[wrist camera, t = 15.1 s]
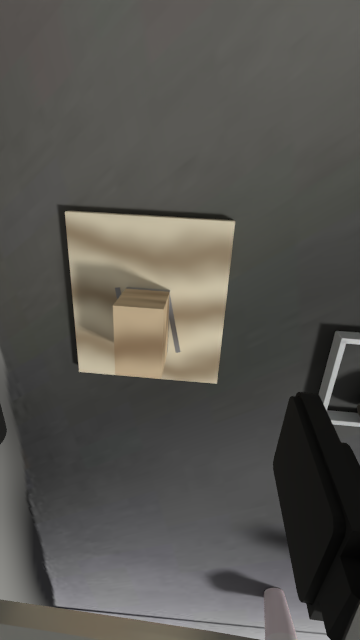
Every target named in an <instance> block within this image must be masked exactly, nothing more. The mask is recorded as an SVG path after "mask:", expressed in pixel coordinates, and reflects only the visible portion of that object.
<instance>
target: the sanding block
mask: <svg viewBox="0 0 360 640" xmlns="http://www.w3.org/2000/svg"><path fill="white" fill-rule="evenodd" d="M169 307H170V290H160V289H147V288H133V287H127V288H126V289H125V290H124V292H123V293H122V294H121V295H120V297H119V298H118V299H117V301H116V302H115V303H114V305H113V326H114V355H115V375H123V376H134V377H145V378H156V379H161V378H162V374H163V369H164V365H165V361H166V357H167V352H168V331H169Z"/></svg>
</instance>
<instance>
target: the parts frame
mask: <svg viewBox="0 0 360 640" xmlns="http://www.w3.org/2000/svg"><path fill="white" fill-rule="evenodd" d="M346 343H348V344H360V333H358V332H345V331H335V335H334V338H333V342H332V346H331V350H330V353H329V357H328V361H327V365H326V368H325V372H324V376H323V379H322V383H321V387H320V391H319V394H318V395H319V396H320V398H321V400H322V402H323V404H324V406H325V409H326V411H327V413H328V415H329V417H330V420H331V422H332V424H336V425H347V426H358V427H360V417H359V415H358V413H353V412H342V411H331V410H327V408H328V404H329V401H330V397H331V394H332V390H333V387H334V383H335V380H336V376H337V373H338V369H339V366H340V363H341V359H342V356H343V352H344V349H345V345H346Z"/></svg>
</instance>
